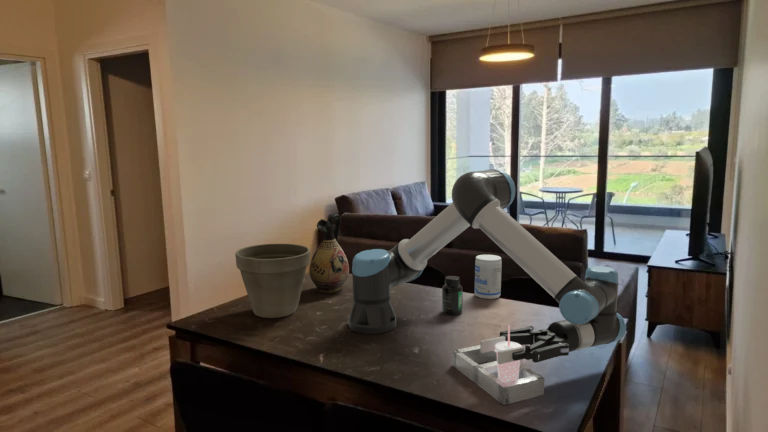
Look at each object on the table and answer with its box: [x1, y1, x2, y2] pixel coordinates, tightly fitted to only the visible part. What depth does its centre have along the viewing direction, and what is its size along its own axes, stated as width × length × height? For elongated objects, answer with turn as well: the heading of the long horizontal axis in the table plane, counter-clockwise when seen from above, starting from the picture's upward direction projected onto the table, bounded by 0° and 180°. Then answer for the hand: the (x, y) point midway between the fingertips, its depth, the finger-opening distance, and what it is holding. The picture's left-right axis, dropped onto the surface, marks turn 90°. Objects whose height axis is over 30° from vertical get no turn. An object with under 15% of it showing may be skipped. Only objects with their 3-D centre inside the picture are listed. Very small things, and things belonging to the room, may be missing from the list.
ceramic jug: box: [308, 213, 350, 294], centre depth 198 cm, size 17×15×30 cm
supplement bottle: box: [441, 275, 464, 316], centre depth 171 cm, size 7×7×12 cm
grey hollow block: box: [451, 344, 545, 406], centre depth 123 cm, size 22×11×4 cm, turn 23°
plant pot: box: [234, 243, 311, 319], centre depth 174 cm, size 25×25×22 cm
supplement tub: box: [474, 254, 503, 300], centre depth 188 cm, size 10×10×15 cm
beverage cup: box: [495, 324, 522, 383], centre depth 117 cm, size 6×6×14 cm
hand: (489, 352), depth 115 cm, fingers closed on beverage cup, 6 cm apart
